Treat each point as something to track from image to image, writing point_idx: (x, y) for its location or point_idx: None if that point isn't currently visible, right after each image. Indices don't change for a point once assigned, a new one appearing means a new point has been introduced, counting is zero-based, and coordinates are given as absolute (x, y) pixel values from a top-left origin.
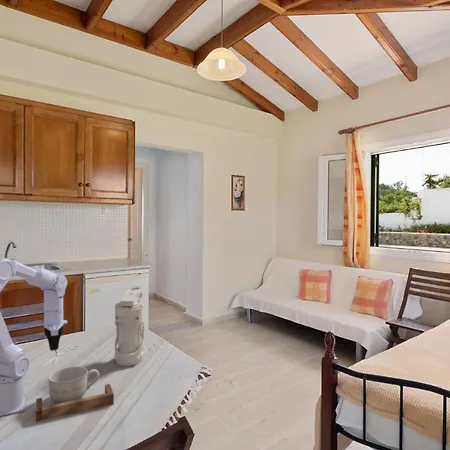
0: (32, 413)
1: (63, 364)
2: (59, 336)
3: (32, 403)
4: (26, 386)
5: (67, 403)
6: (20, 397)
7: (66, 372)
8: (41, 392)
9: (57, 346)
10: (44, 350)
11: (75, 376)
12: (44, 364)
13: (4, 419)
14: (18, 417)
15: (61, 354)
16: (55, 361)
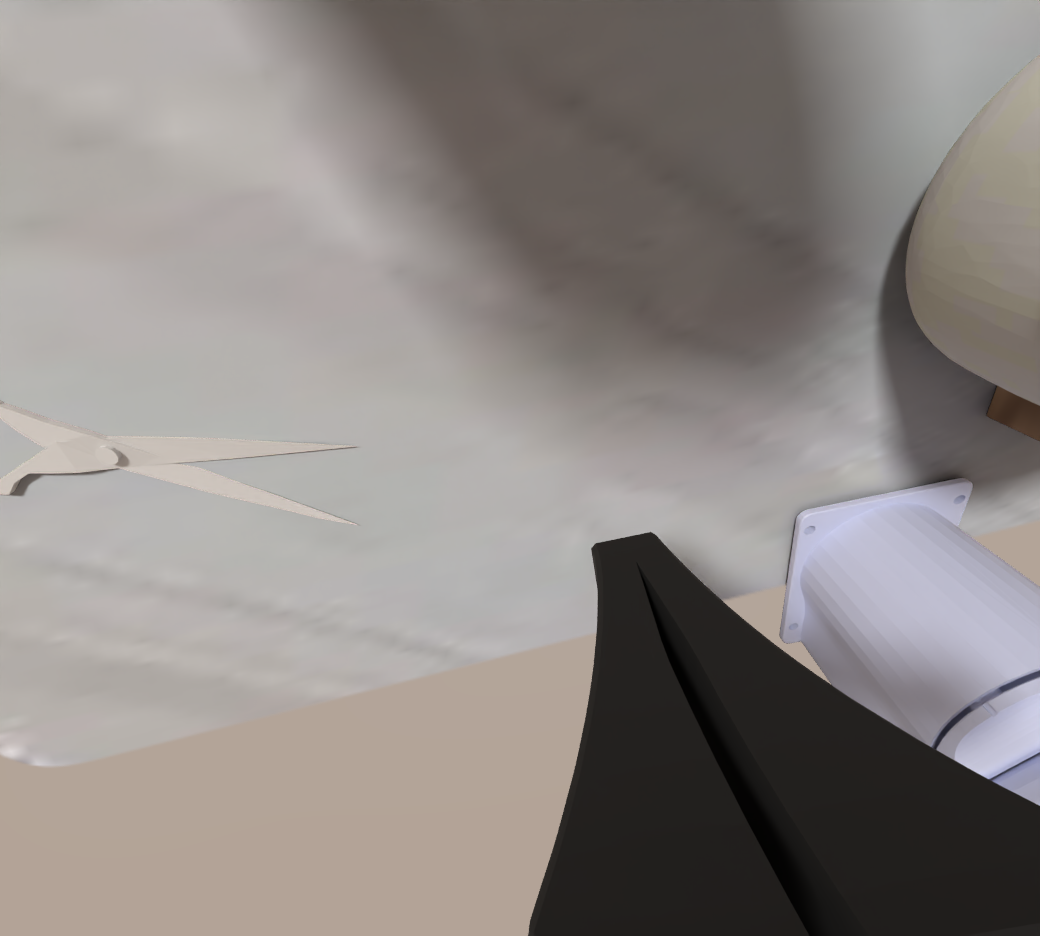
0: None
1: (307, 369)
2: (879, 734)
3: (894, 453)
4: None
5: None
6: (976, 542)
7: (1034, 282)
8: (776, 434)
9: (683, 567)
10: (16, 575)
11: (1037, 155)
12: (311, 515)
13: None
14: (1004, 483)
15: (75, 429)
16: (247, 449)
